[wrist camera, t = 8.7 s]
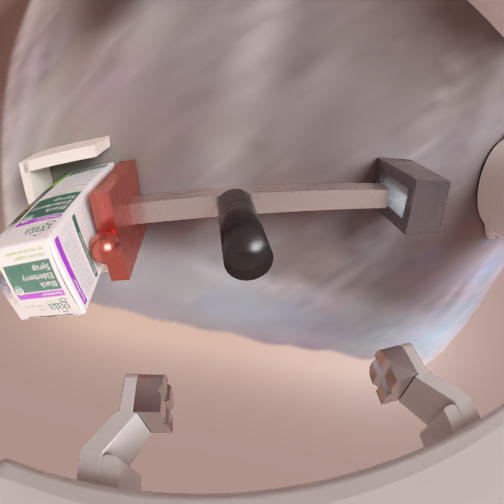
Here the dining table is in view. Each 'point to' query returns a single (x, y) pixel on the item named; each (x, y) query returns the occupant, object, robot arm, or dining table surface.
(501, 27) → the milk
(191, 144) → the dining table surface
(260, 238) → the linear slider rail
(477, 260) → the dining table surface
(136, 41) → the dining table surface
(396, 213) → the grey hollow block
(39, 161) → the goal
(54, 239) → the syrup box
